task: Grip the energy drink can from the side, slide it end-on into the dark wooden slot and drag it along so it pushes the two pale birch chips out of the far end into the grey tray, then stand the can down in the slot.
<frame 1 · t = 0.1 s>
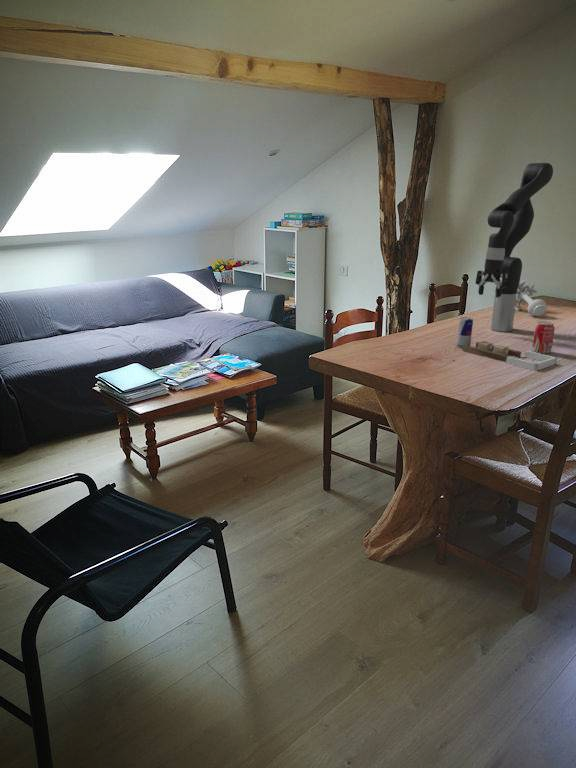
hand: (489, 295, 249), 17 cm above the table, tool pointing down, fingers open, 8 cm apart
energy drink: (463, 347, 233), on the table
tray: (530, 363, 211), on the table
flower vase: (526, 313, 298), on the table
slot rails: (491, 353, 224), on the table
soda can: (541, 352, 226), on the table
chip b: (499, 356, 221), on the table
chip a: (484, 352, 226), on the table
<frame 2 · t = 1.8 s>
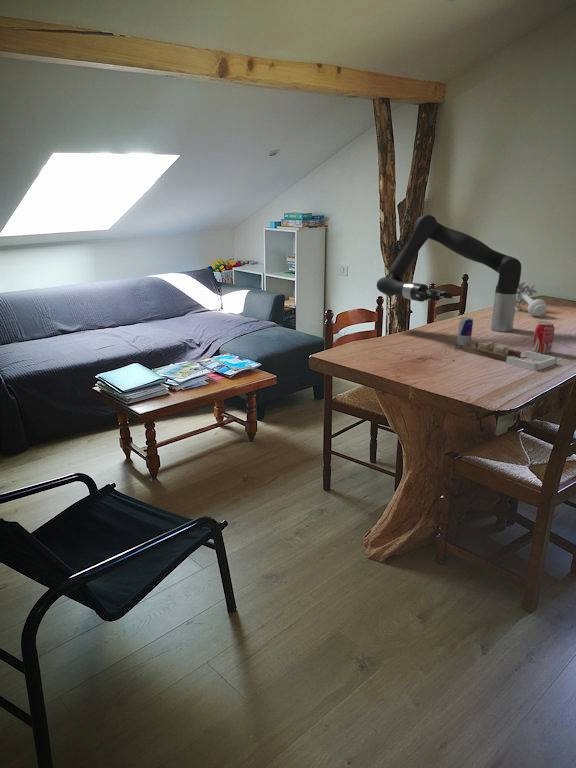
hand: (445, 297, 235), 19 cm above the table, tool horizontal, fingers open, 8 cm apart
nothing on the table moved.
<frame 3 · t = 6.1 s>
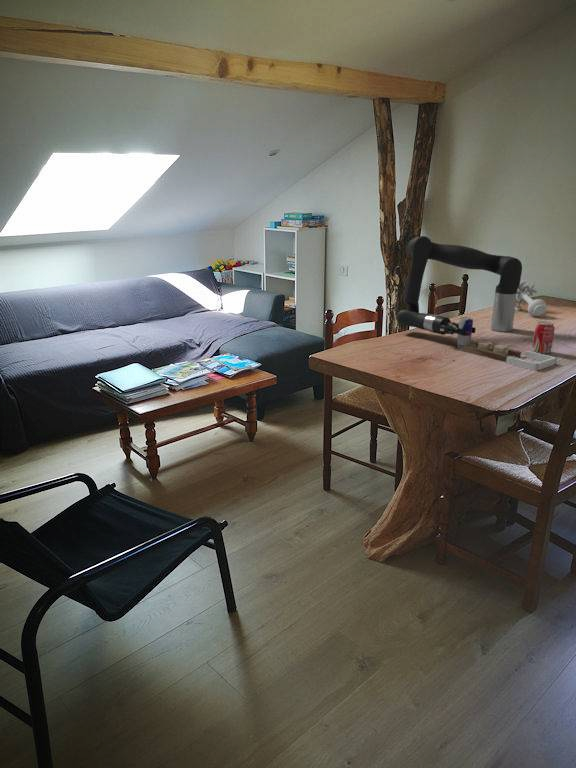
hand: (470, 331, 229), 7 cm above the table, tool horizontal, fingers closed on energy drink, 5 cm apart
energy drink: (463, 347, 233), on the table, touching gripper
everything else where it was.
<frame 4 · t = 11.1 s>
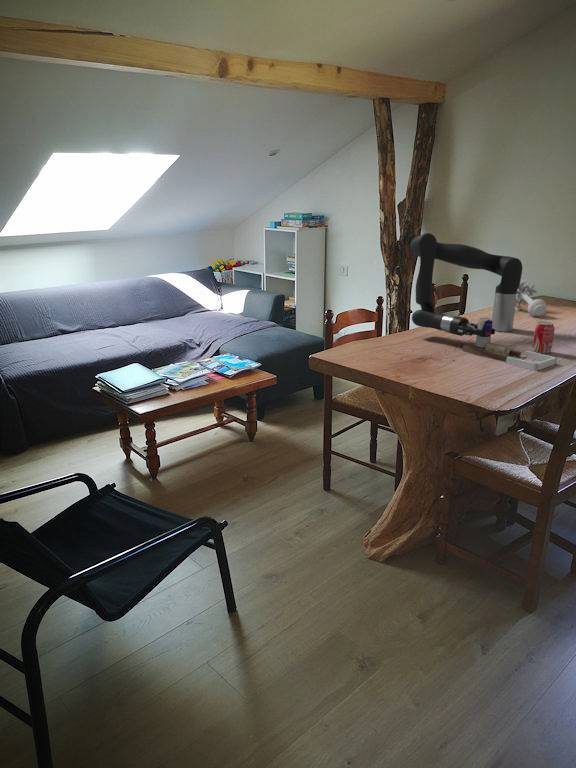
hand: (489, 332, 222), 8 cm above the table, tool horizontal, fingers closed on energy drink, 5 cm apart
energy drink: (482, 349, 226), point 1 cm above the table, touching chip a, gripper
chip b: (501, 356, 220), on the table, touching chip a
chip a: (492, 354, 223), on the table, touching chip b, energy drink
everything else where it was.
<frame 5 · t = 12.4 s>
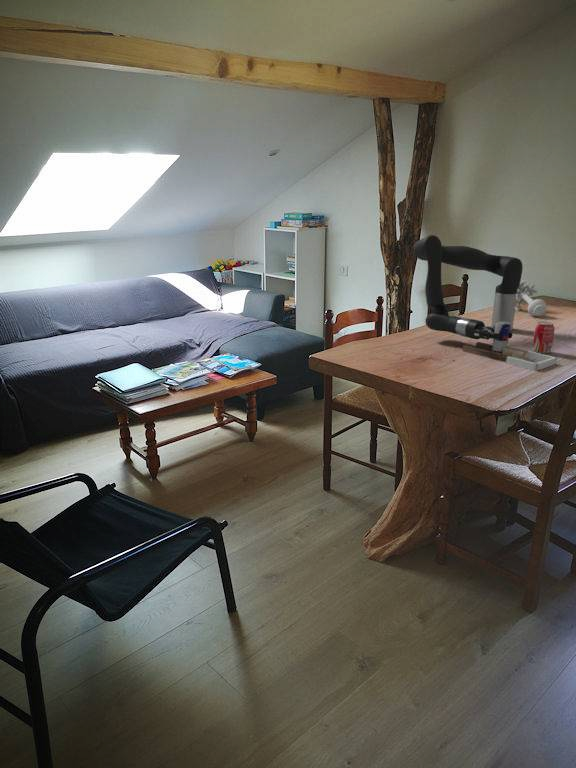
hand: (507, 336, 216), 8 cm above the table, tool horizontal, fingers closed on energy drink, 5 cm apart
energy drink: (498, 353, 220), point 1 cm above the table, touching gripper
chip b: (519, 360, 214), on the table
chip a: (509, 358, 217), on the table
everything else where it was.
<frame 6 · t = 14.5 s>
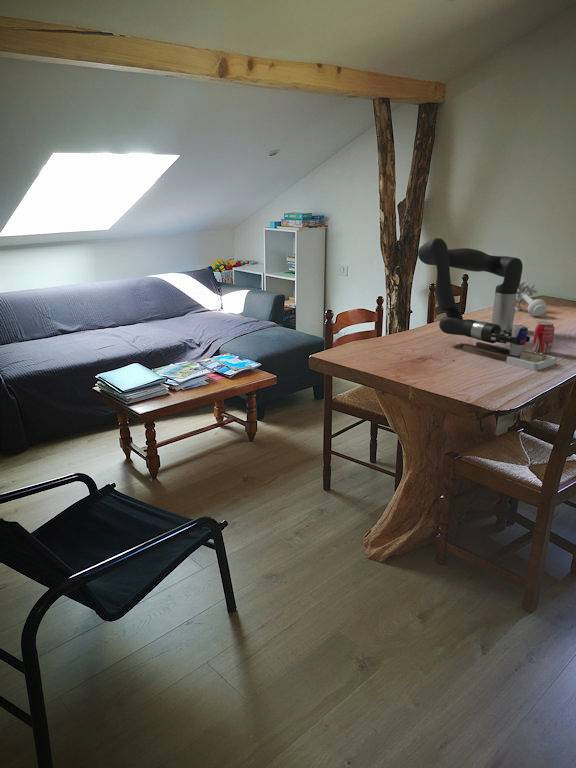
hand: (524, 340, 211), 8 cm above the table, tool horizontal, fingers closed on energy drink, 5 cm apart
energy drink: (516, 357, 215), point 1 cm above the table, touching chip a, gripper
chip b: (537, 365, 209), on the table, touching chip a
chip a: (527, 362, 212), on the table, touching chip b, energy drink
everything else where it was.
when the fingers open (8 cm above the table, at t = 16.5 s): energy drink stays where it is, on the table.
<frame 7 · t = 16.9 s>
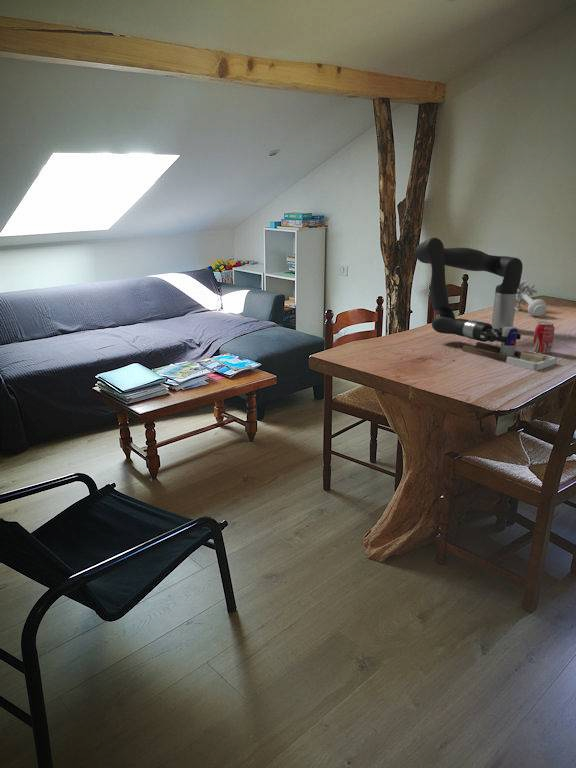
hand: (514, 338, 214), 8 cm above the table, tool horizontal, fingers open, 8 cm apart
energy drink: (506, 358, 219), on the table
chip b: (537, 365, 209), on the table
chip a: (527, 363, 212), on the table
everything else where it was.
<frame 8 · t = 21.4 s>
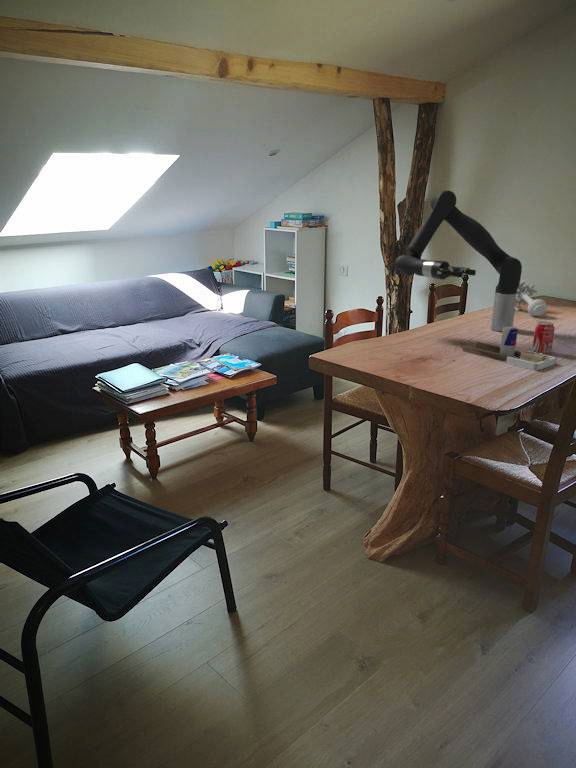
hand: (468, 273, 224), 30 cm above the table, tool horizontal, fingers open, 8 cm apart
nothing on the table moved.
at the end: chip a inside the target area (1.0 cm from its centre), on the table; chip b inside the target area (3.0 cm from its centre), on the table; the gripper is holding nothing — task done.
